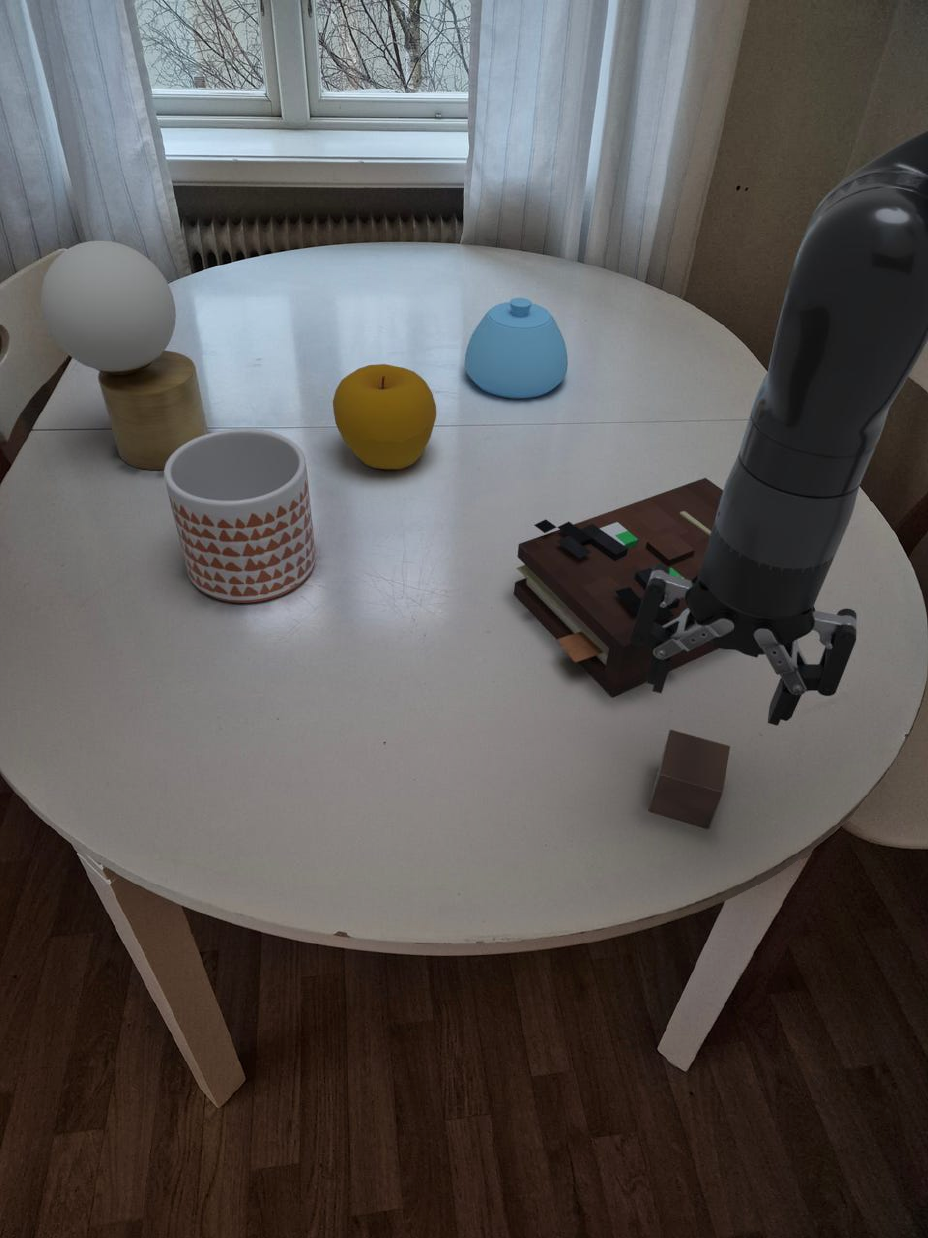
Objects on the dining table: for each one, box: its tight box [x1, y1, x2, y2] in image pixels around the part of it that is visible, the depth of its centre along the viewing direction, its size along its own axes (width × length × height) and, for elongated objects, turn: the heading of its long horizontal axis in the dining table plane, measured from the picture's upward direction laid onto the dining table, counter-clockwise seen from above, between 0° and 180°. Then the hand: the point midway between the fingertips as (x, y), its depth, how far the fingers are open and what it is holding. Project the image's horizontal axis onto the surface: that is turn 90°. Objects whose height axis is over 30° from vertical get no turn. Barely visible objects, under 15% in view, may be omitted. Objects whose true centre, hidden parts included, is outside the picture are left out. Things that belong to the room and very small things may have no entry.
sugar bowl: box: [464, 297, 569, 400], centre depth 123 cm, size 15×15×12 cm
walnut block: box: [648, 729, 731, 830], centre depth 71 cm, size 5×5×5 cm
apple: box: [332, 363, 437, 470], centre depth 106 cm, size 13×13×11 cm
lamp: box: [40, 240, 209, 471], centre depth 102 cm, size 15×14×25 cm
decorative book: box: [513, 477, 724, 698], centre depth 88 cm, size 19×8×30 cm
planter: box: [163, 428, 317, 604], centre depth 89 cm, size 14×14×13 cm
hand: (715, 700), depth 64 cm, fingers open, 8 cm apart
